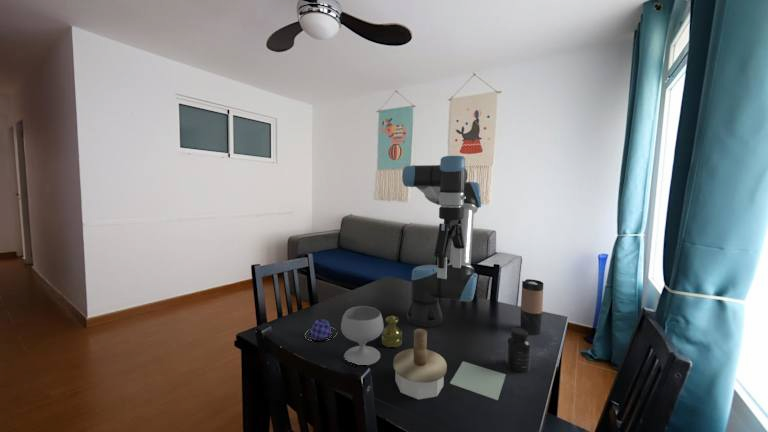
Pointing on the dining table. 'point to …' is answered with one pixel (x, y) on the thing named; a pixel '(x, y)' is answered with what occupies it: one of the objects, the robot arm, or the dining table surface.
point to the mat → (479, 380)
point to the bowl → (419, 387)
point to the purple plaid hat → (320, 329)
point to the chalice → (362, 333)
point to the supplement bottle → (518, 351)
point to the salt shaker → (392, 333)
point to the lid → (420, 361)
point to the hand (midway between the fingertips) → (449, 272)
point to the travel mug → (531, 306)
